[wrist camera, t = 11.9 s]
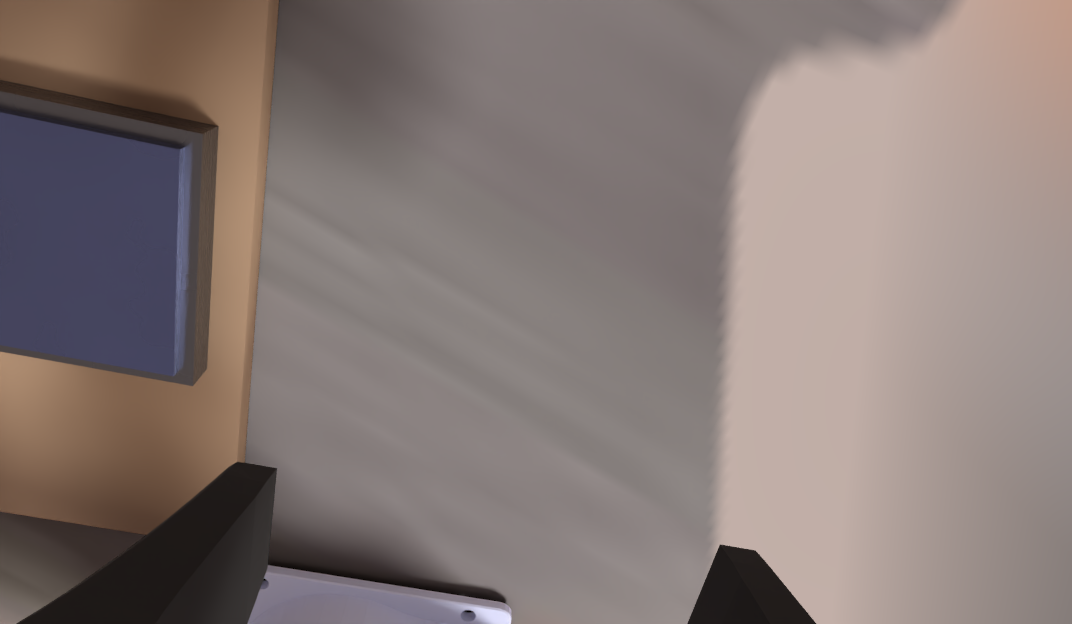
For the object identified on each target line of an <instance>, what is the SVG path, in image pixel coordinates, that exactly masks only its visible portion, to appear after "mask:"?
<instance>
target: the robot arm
mask: <svg viewBox="0 0 1072 624" xmlns="http://www.w3.org/2000/svg"><path fill="white" fill-rule="evenodd" d="M276 472H277V468H271V467H266V466H260V465H254V464H248V463H242V462H236V463H234V464H232V465H231V466H229V467H228V468H227V469H226V470H225V471H223V472H222V473H221V474H220V475H219V476H218V477H217V478H215V479H214V480H213V481H212V482H211V483H210V484H208V485H207V486H206V487H205V488H204V489H203V490H201V491H200V492H199V493H198V494H197V495H196V496H194V497H193V498H192V499H191V500H190V501H188V502H187V503H186V504H185V505H183V506H182V507H181V508H180V509H179V510H177V511H176V512H175V513H174V514H173V515H171V516H170V517H169V518H167V519H166V520H165V521H164V522H162V523H161V524H160V525H158V526H157V527H156V528H155V529H153V530H152V531H151V532H149V533H148V534H147V535H146V536H144V537H143V538H142V539H141V540H139V541H138V542H137V543H135V544H134V545H133V546H131V547H130V548H129V549H127V550H126V551H125V552H123V553H122V554H121V555H119V556H118V557H116V558H115V559H114V560H112V561H111V562H109V563H108V564H106V565H105V566H104V567H102V568H101V569H99V570H98V571H96V572H95V573H94V574H92V575H91V576H89V577H88V578H87V579H85V580H84V581H82V582H81V583H79V584H78V585H77V586H75V587H74V588H72V589H71V590H69V591H68V592H66V593H65V594H63V595H61V596H60V597H58V598H57V599H55V600H54V601H52V602H51V603H49V604H48V605H46V606H44V607H43V608H41V609H40V610H38V611H36V612H35V613H33V614H32V615H30V616H28V617H27V618H25V619H23V620H22V621H20V622H18V623H17V624H511V609H510V607H509V606H508V605H506V604H505V603H502V602H497V601H491V600H485V599H479V598H472V597H466V596H460V595H453V594H447V593H441V592H434V591H428V590H422V589H416V588H409V587H403V586H397V585H390V584H384V583H378V582H371V581H365V580H359V579H353V578H346V577H340V576H334V575H327V574H321V573H315V572H309V571H302V570H296V569H290V568H283V567H277V566H271V565H268V557H269V546H270V536H271V525H272V515H273V504H274V494H275V483H276ZM263 579H266V580H267V581H264V580H263ZM465 610H470V611H473V612H470V613H467V612H465ZM688 624H816V623H815V622H814V620H813V619H812V618H811V617H810V616H809V615H808V613H807V612H806V611H805V609H804V608H803V607H802V606H801V605H800V604H799V602H798V601H797V600H796V598H795V597H794V596H793V595H792V594H791V592H790V591H789V590H788V589H787V587H786V586H785V585H784V584H783V583H782V581H781V580H780V579H779V578H778V577H777V575H776V574H775V573H774V572H773V570H772V569H771V568H770V567H769V566H768V564H767V563H766V562H765V561H764V560H763V559H762V558H761V557H760V555H759V554H758V553H757V552H756V551H754V550H749V549H743V548H737V547H731V546H725V545H720V546H719V548H718V551H717V553H716V556H715V558H714V561H713V563H712V565H711V568H710V570H709V573H708V575H707V578H706V580H705V582H704V585H703V587H702V590H701V592H700V595H699V597H698V599H697V602H696V604H695V607H694V609H693V612H692V614H691V616H690V619H689V621H688Z"/></svg>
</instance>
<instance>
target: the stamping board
mask: <svg viewBox="0 0 1072 624" xmlns="http://www.w3.org/2000/svg"><path fill="white" fill-rule="evenodd" d="M278 7H279V0H0V80H5V81H9V82H14V83H19V84H23V85H28V86H33V87H37V88H42V89H47V90H52V91H56V92H61V93H66V94H70V95H75V96H80V97H84V98H89V99H94V100H99V101H103V102H108V103H113V104H117V105H122V106H127V107H131V108H136V109H141V110H146V111H150V112H155V113H160V114H164V115H169V116H174V117H178V118H183V119H188V120H192V121H197V122H202V123H207V124H211V125H216V126H219V129H218V150H217V171H216V193H215V214H214V235H213V256H212V278H211V299H210V320H209V341H208V363H207V370H206V371H205V372H204V373H203V374H202V376H201V377H200V378H199V379H198V381H197V382H196V383H195V384H194V386H189V385H183V384H178V383H172V382H167V381H161V380H156V379H150V378H144V377H139V376H133V375H128V374H122V373H117V372H111V371H105V370H100V369H94V368H89V367H83V366H78V365H72V364H66V363H61V362H55V361H50V360H44V359H39V358H33V357H27V356H22V355H16V354H11V353H5V352H0V512H6V513H13V514H19V515H25V516H31V517H38V518H44V519H50V520H56V521H63V522H69V523H75V524H81V525H88V526H94V527H100V528H106V529H113V530H119V531H125V532H131V533H137V534H144V535H147V534H148V533H149V532H151V531H152V530H153V529H155V528H156V527H157V526H158V525H160V524H161V523H162V522H164V521H165V520H166V519H167V518H169V517H170V516H171V515H173V514H174V513H175V512H176V511H177V510H179V509H180V508H181V507H182V506H183V505H185V504H186V503H187V502H188V501H190V500H191V499H192V498H193V497H194V496H196V495H197V494H198V493H199V492H200V491H201V490H203V489H204V488H205V487H206V486H207V485H208V484H210V483H211V482H212V481H213V480H214V479H215V478H217V477H218V476H219V475H220V474H221V473H222V472H223V471H225V470H226V469H227V468H228V467H229V466H231V465H232V464H234V463H236V462H242V463H245V450H246V437H247V423H248V410H249V396H250V383H251V370H252V356H253V343H254V329H255V316H256V302H257V289H258V276H259V262H260V249H261V235H262V222H263V208H264V195H265V182H266V168H267V155H268V141H269V128H270V114H271V101H272V88H273V74H274V61H275V47H276V34H277V20H278Z"/></svg>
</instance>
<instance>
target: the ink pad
mask: <svg viewBox="0 0 1072 624" xmlns="http://www.w3.org/2000/svg"><path fill="white" fill-rule="evenodd" d="M218 129H219V126H216V125H211V124H207V123H202V122H197V121H192V120H188V119H183V118H178V117H174V116H169V115H164V114H160V113H155V112H150V111H146V110H141V109H136V108H131V107H127V106H122V105H117V104H113V103H108V102H103V101H99V100H94V99H89V98H84V97H80V96H75V95H70V94H66V93H61V92H56V91H52V90H47V89H42V88H37V87H33V86H28V85H23V84H19V83H14V82H9V81H5V80H0V352H5V353H11V354H16V355H22V356H27V357H33V358H39V359H44V360H50V361H55V362H61V363H66V364H72V365H78V366H83V367H89V368H94V369H100V370H105V371H111V372H117V373H122V374H128V375H133V376H139V377H144V378H150V379H156V380H161V381H167V382H172V383H178V384H183V385H189V386H194V384H195V383H196V382H197V381H198V379H199V378H200V377H201V376H202V374H203V373H204V372H205V371H206V370H207V363H208V341H209V320H210V299H211V278H212V256H213V235H214V214H215V193H216V171H217V150H218Z"/></svg>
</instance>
